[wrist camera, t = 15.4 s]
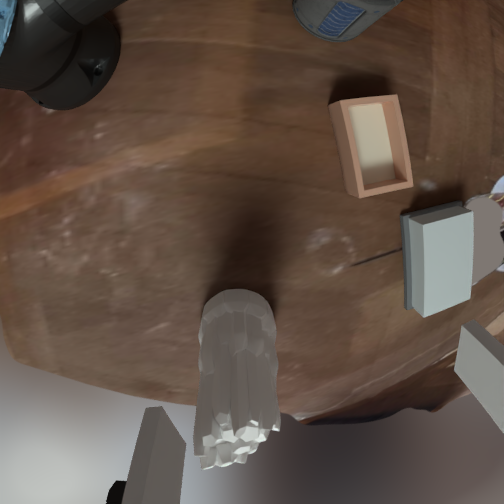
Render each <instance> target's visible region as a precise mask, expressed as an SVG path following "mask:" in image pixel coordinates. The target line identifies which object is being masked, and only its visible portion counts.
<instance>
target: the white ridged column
mask: <svg viewBox="0 0 504 504" xmlns="http://www.w3.org/2000/svg"><path fill="white" fill-rule="evenodd" d="M276 334H277V330H276V325H275V320H274V316H273V312H272V310H271V308H270V305H269V304H268V302H267V300H265V299H264V297H262V296H261V295H259V294H258V293H256V292H253V291H250V290H247V289H227V290H225V291H224V290H223V291H222V292H220V293H218V294H217V295H215V296H214V297H212V298H211V299H210V300H209V301H208V302H207V303H206V305H204V310H203V314H202V319H201V324H200V330H199V336H198V338H199V342H200V345H201V347H200V354H199V361H198V366H199V369H200V382H199V391H198V399H197V408H196V417H195V426H194V435H193V440H194V455H195V456H200V462H201V468H202V469H209V468H212V467H214V465H217V466H220V467H225V466H228V465H230V464H233V462H238V463H246V460H247V455H248V453H249V454H252V453H253V452H255V451H256V450H257V448H258V445H259V442H262V441H265V440H267V438H268V435H269V432H270V430H276V431H280V424H281V418H280V411H279V405H278V399H277V393H276V376H277V371H278V359H277V354H276V349H275V344H274V343H275V339H276Z"/></svg>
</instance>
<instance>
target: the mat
mask: <svg viewBox="0 0 504 504" xmlns="http://www.w3.org/2000/svg"><path fill="white" fill-rule="evenodd" d="M455 206H460V207H462V201H459V200H458V201H454V202H450V203H446V204H442V205H438V206H434V207H430V208H426V209H422V210H418V211H414V212H410V213H406V214H402V215H400V223H401V234H402V248H403V266H404V308H405V309H406V310H409V309H412V308H414V307H413V306H412V265H411V244H410V229H409V218H412V217H416V216H419V215H423V214H427V213H431V212H435V211H439V210H443V209H447V208H451V207H455Z"/></svg>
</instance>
